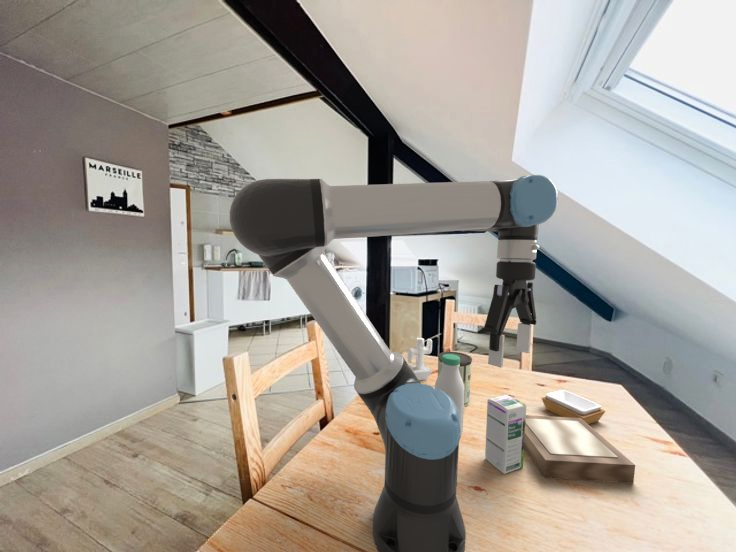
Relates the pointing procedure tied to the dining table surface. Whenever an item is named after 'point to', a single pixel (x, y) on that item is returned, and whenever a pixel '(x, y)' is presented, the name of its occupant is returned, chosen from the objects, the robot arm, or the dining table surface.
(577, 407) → the soap dish
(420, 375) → the figurine
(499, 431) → the syrup box
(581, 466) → the pedestal
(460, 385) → the milk bottle
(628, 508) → the dining table surface
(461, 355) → the coffee can
